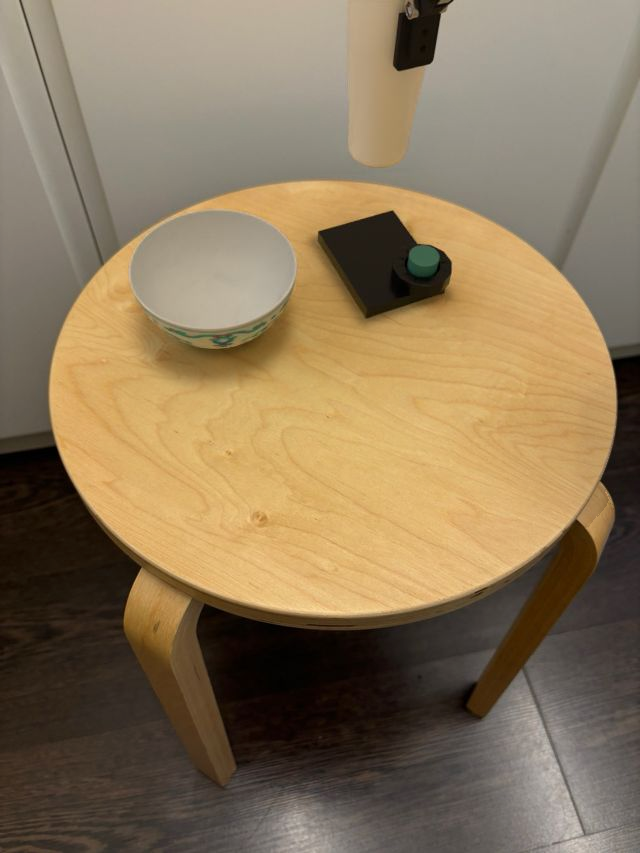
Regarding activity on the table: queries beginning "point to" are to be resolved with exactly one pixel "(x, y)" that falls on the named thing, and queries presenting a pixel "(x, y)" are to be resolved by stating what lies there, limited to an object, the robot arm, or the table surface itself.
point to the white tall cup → (378, 85)
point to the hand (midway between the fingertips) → (389, 38)
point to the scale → (381, 263)
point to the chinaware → (213, 276)
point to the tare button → (423, 261)
